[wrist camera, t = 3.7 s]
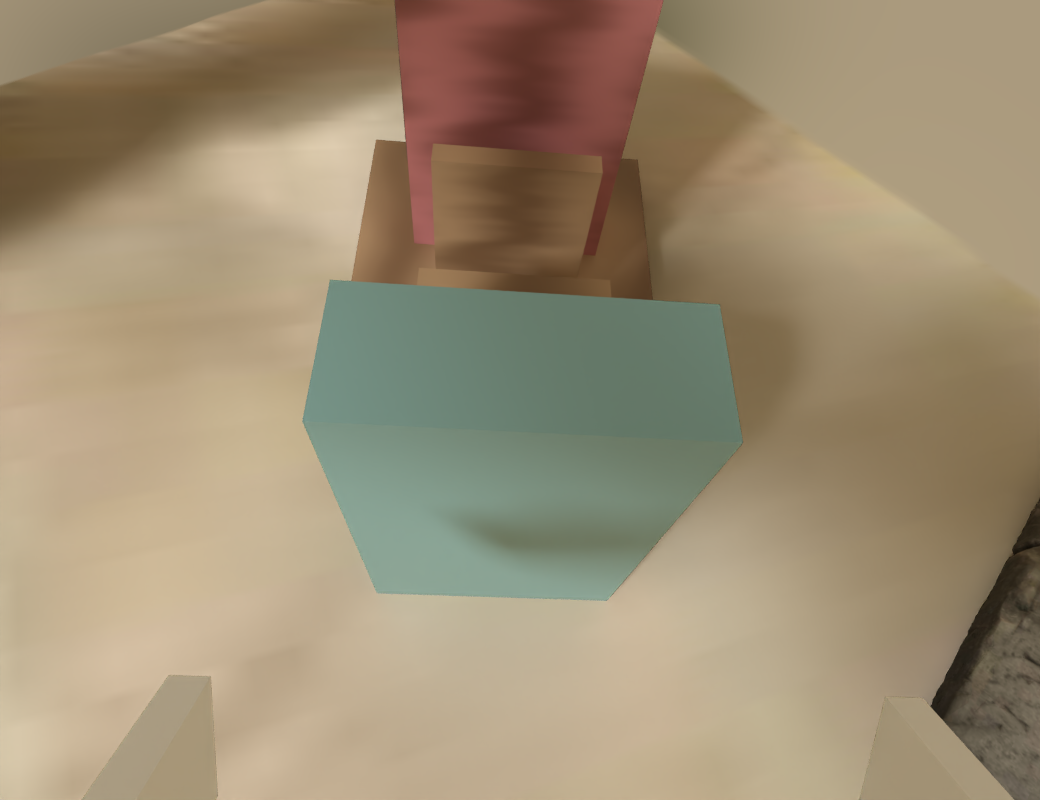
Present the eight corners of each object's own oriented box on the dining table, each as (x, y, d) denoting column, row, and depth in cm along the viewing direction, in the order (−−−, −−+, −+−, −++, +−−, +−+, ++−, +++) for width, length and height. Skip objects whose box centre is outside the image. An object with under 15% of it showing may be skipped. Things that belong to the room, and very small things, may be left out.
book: (377, 593, 29) (302, 421, 15) (387, 504, 31) (330, 279, 17) (607, 600, 29) (742, 442, 15) (602, 513, 31) (719, 304, 17)
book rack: (334, 423, 32) (225, 112, 17) (378, 159, 41) (333, -198, 26) (657, 439, 33) (826, 159, 18) (632, 178, 42) (730, -154, 27)
